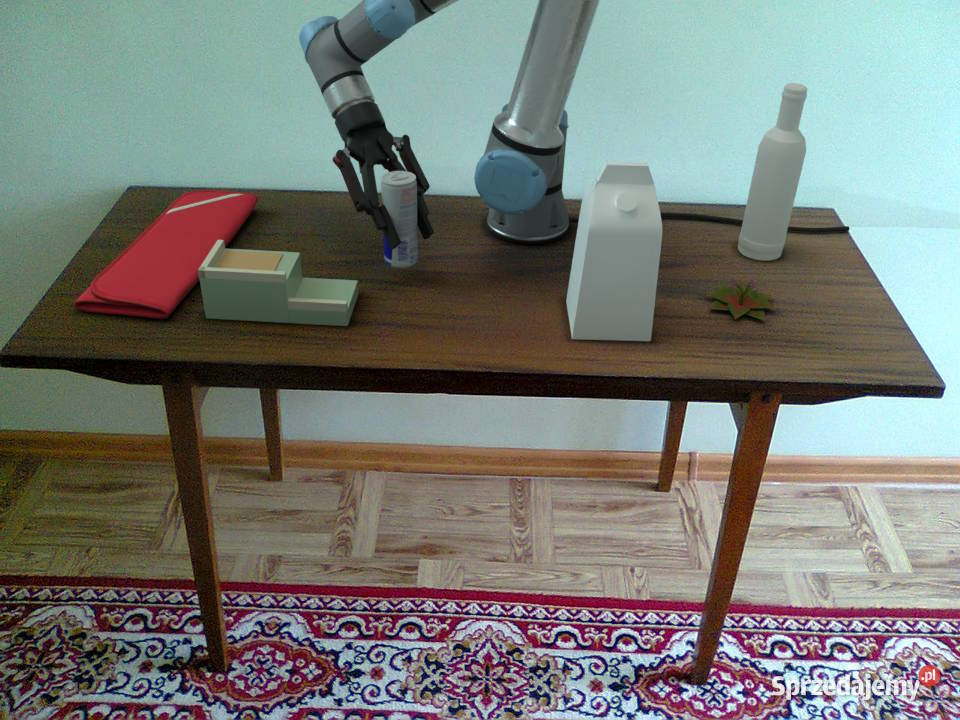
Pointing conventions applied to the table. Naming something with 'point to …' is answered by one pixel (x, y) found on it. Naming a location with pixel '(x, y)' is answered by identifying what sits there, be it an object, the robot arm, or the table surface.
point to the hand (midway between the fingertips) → (412, 240)
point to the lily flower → (741, 300)
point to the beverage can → (401, 217)
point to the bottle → (775, 181)
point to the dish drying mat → (167, 255)
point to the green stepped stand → (271, 289)
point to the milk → (616, 256)
